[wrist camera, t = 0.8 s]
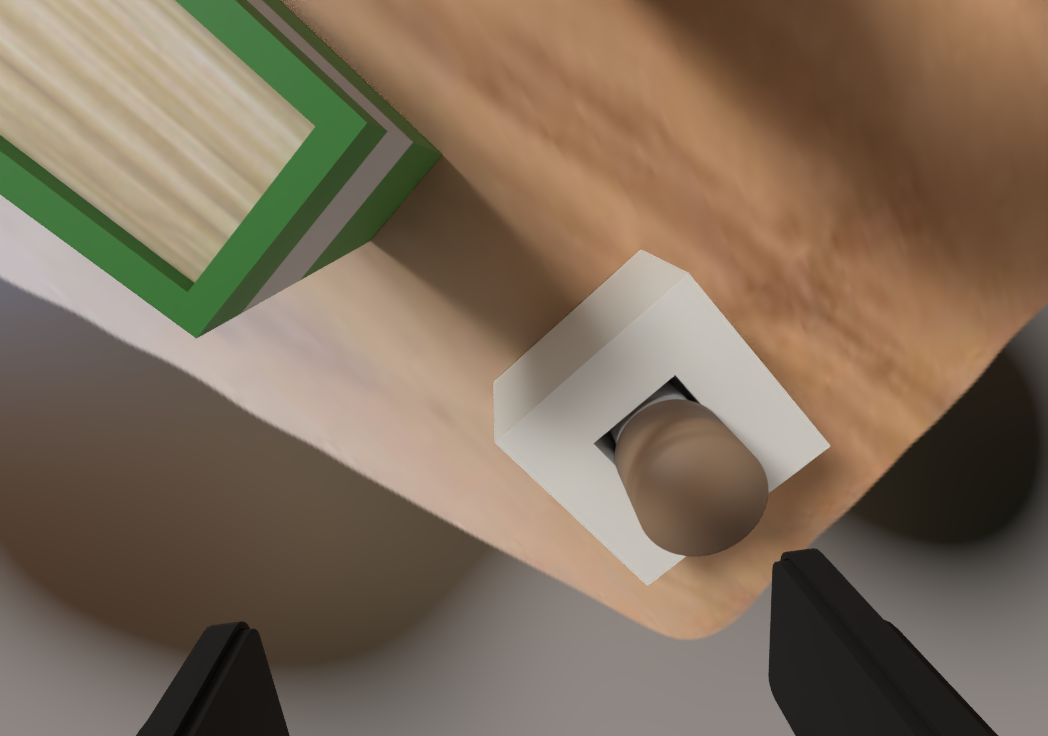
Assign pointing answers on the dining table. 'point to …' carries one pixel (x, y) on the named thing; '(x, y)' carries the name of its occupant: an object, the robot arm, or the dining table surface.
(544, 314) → the dining table surface
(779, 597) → the robot arm
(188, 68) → the hardback book
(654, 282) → the housing
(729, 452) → the brown rounded piece
